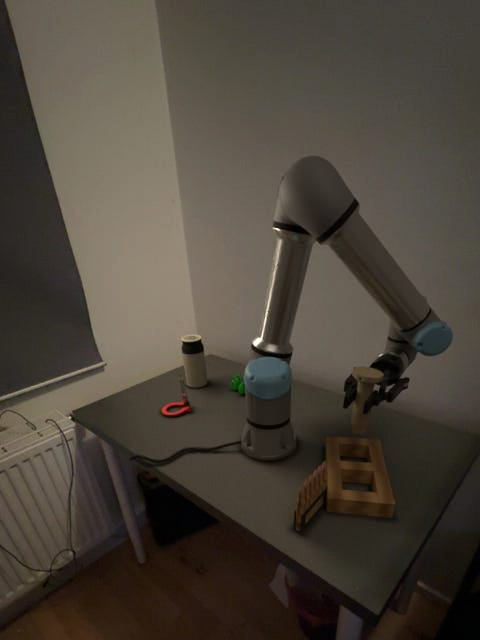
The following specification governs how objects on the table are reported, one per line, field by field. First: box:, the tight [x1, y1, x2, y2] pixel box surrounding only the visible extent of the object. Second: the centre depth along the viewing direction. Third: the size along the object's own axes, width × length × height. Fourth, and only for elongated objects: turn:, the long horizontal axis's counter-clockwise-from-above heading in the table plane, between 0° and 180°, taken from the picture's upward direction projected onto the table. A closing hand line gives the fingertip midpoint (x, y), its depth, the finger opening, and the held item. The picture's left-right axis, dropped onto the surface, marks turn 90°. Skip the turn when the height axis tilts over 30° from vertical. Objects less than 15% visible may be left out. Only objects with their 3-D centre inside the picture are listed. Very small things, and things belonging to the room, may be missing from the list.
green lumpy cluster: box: [229, 374, 245, 396], centre depth 126 cm, size 15×15×7 cm
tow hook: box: [161, 371, 192, 418], centre depth 113 cm, size 8×13×9 cm
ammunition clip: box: [292, 460, 328, 535], centre depth 71 cm, size 11×2×12 cm, turn 140°
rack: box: [324, 435, 396, 519], centre depth 82 cm, size 13×23×4 cm, turn 169°
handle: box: [350, 366, 384, 436], centre depth 77 cm, size 5×6×15 cm
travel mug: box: [180, 334, 208, 388], centre depth 128 cm, size 8×8×18 cm
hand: (355, 405), depth 73 cm, fingers closed on handle, 4 cm apart
